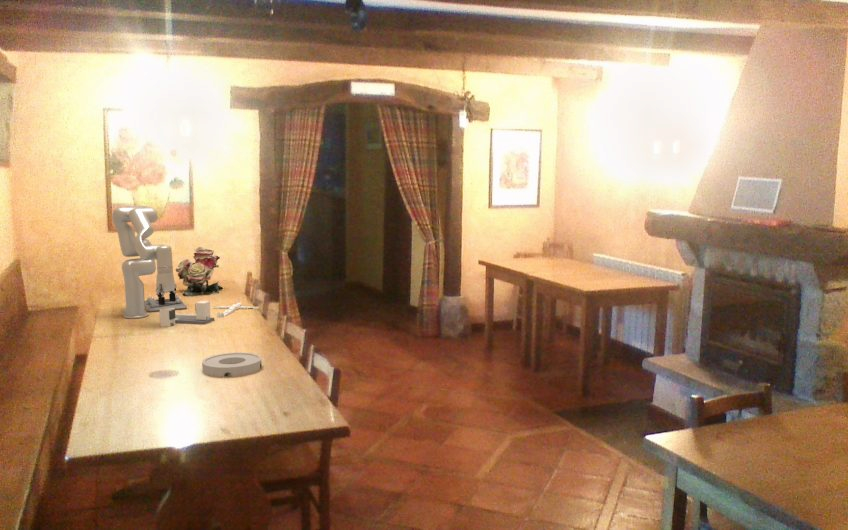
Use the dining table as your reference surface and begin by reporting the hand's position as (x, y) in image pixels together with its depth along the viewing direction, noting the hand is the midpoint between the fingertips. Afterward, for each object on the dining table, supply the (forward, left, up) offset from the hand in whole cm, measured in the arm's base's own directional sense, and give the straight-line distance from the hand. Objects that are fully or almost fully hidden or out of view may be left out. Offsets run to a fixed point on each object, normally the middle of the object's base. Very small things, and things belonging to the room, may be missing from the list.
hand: (167, 303), depth 370 cm
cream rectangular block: (-1, 0, -12) cm, 12 cm away
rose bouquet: (-34, +92, -12) cm, 99 cm away
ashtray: (+70, -67, -12) cm, 98 cm away
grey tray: (-32, +46, -13) cm, 57 cm away
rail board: (+4, +11, -12) cm, 17 cm away
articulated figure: (+14, +39, -13) cm, 44 cm away
